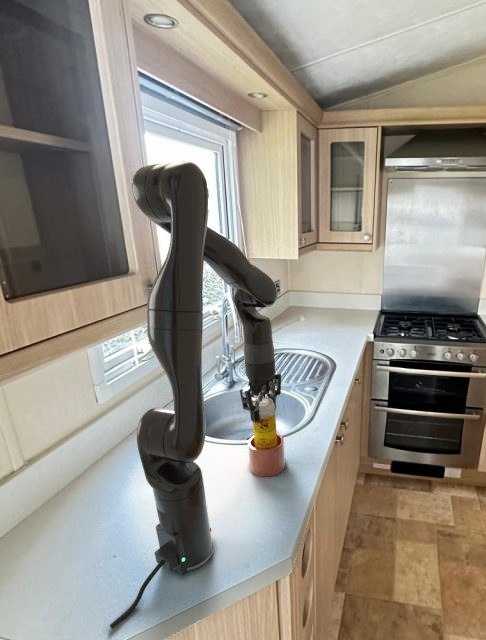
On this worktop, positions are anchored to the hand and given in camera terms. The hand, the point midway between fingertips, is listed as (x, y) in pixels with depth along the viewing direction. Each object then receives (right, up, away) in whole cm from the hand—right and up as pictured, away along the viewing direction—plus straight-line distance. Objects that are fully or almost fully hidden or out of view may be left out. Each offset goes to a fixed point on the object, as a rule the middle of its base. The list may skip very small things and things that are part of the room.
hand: (263, 416), depth 108 cm
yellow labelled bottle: (0, -10, +4) cm, 11 cm away
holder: (0, -14, +6) cm, 16 cm away
